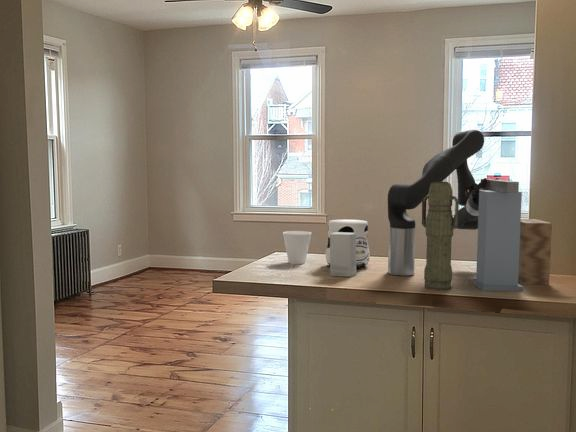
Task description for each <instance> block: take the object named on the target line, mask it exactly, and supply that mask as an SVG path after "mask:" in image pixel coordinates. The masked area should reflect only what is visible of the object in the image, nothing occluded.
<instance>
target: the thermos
mask: <svg viewBox="0 0 576 432" xmlns="http://www.w3.org/2000/svg"><path fill="white" fill-rule="evenodd" d="M453 200H454V202H455V204H454V205H455V206H454V207H455V208H454V215H455V226H454V219H453V217H454V215H453V210H452V207H453ZM427 201H428V204H427ZM427 205H428V209H427ZM459 206H460V205H459V201H458V196H455V195H453V187H452V185H451V183H450V182H448V181H442V182H434V183H431V185H430V188H429V194H428V195H427V196H425V197H424V198H423V199H422V202H421V225H422V227H424V228H425V236H426V257H425V258H426V261H425V262H426V263H425V264H426V265H425V266H424V271H423V273H424V276H423V277H424V279H423V280H424V288H425V289H428V290H433V291H446V290H451V289H452V281H453V268H452V264H451V263H452V240H453V239H452V238H453V236H454V230H455V229H457V226H458V210H459Z"/></svg>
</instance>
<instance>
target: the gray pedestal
mask: <svg viewBox="0 0 576 432" xmlns="http://www.w3.org/2000/svg"><path fill="white" fill-rule="evenodd" d="M522 193H523V192H522V191H519V192H518V193H503V192H497V191H491V190H479V212H478V229H477V244H476V245H477V247H476V270H475V271H476V272H475V273H476V274H475V278H473V277H471V284H473V285H474V286H475V287H476V288H478V289H479V290H480V291H482V292H524V286H523V285H521V284H519V282H518V272H519V248H520V224H521V219H522V196H523V194H522Z"/></svg>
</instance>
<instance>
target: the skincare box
mask: <svg viewBox="0 0 576 432" xmlns="http://www.w3.org/2000/svg"><path fill="white" fill-rule="evenodd" d="M329 266H330V267H329V268H330V269H329V270H330V276H332V277H347V278H351V277H354V276H355V275H357V268H356V233H348V232H334V233H332V234H330V265H329Z"/></svg>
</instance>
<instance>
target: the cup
mask: <svg viewBox="0 0 576 432" xmlns="http://www.w3.org/2000/svg"><path fill="white" fill-rule="evenodd" d="M312 233H313V232H311V231H306V230H289V231H287V230H286V231H283V232H282V235H283V240H284V246H285V250H286V255H287V256H286V257H287V260H288V261H287V263H289V264H291V265H304V264H306V262H307V261H306V260H307V255H308V250H309V246H310V242H311V237H312Z"/></svg>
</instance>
